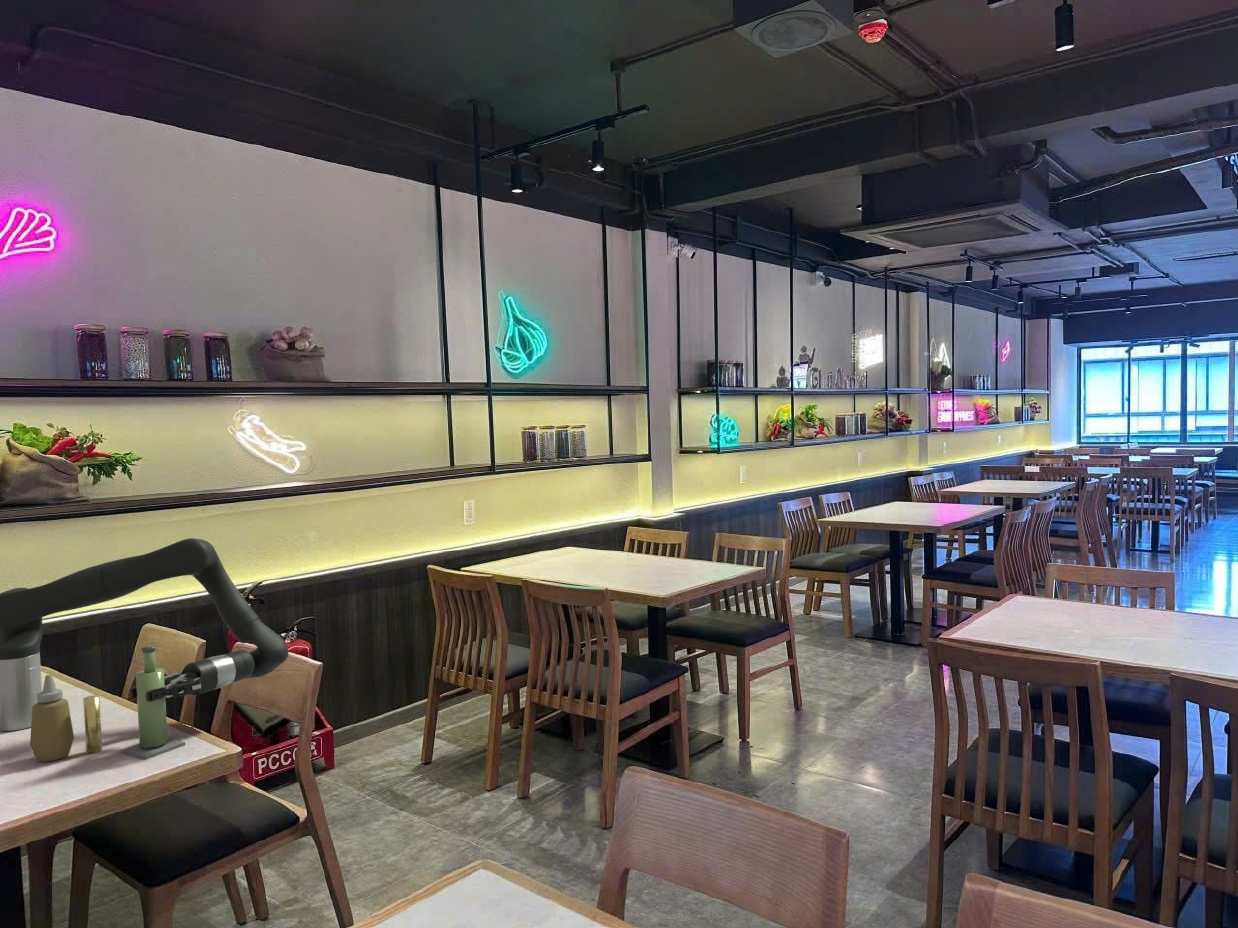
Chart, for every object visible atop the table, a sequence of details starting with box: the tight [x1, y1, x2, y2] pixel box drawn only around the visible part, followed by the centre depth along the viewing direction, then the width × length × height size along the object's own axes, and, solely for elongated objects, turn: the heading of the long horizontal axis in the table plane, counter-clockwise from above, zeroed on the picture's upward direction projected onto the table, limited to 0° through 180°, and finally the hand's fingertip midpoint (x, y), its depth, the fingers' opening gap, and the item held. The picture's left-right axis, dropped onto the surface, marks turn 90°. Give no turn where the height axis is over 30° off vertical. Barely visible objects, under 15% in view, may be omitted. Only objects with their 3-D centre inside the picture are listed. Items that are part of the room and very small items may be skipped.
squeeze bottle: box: [29, 674, 75, 763], centre depth 182 cm, size 8×8×18 cm
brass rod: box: [82, 694, 103, 755], centre depth 185 cm, size 3×3×12 cm
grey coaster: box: [120, 737, 186, 760], centre depth 185 cm, size 9×9×1 cm
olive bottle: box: [135, 644, 168, 748], centre depth 185 cm, size 5×5×22 cm
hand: (139, 695), depth 183 cm, fingers closed on olive bottle, 5 cm apart
